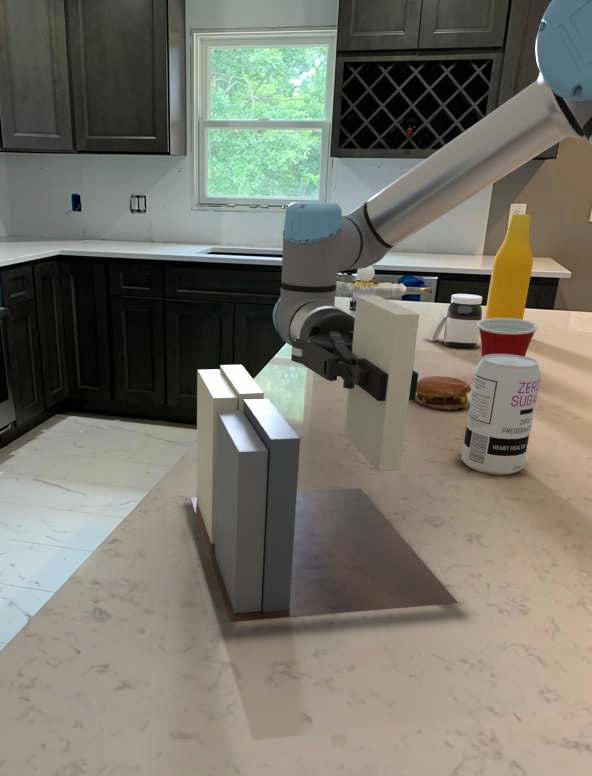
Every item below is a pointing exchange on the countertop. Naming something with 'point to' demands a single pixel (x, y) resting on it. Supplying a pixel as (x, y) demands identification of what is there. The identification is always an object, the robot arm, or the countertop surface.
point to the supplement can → (501, 413)
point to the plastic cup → (505, 336)
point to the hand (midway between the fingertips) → (398, 387)
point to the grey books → (256, 505)
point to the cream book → (395, 357)
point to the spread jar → (459, 322)
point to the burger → (442, 392)
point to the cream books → (216, 396)
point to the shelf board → (343, 561)
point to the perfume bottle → (363, 281)
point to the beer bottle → (511, 272)
